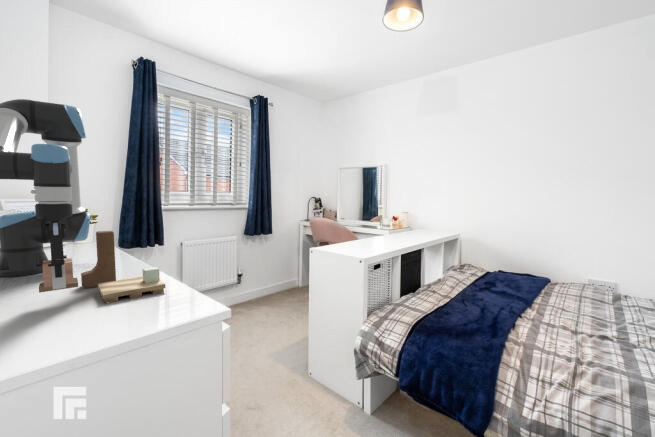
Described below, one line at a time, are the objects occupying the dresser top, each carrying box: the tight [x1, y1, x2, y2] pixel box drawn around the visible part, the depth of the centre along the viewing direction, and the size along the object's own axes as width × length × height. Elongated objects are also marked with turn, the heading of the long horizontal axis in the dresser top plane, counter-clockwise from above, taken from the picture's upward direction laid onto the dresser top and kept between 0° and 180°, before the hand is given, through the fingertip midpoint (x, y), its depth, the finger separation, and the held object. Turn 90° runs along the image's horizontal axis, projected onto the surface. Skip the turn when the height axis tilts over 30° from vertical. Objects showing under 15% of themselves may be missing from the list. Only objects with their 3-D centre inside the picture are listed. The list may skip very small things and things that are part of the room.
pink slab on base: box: [38, 257, 79, 293], centre depth 84 cm, size 6×8×7 cm
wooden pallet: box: [97, 276, 166, 304], centre depth 96 cm, size 14×16×2 cm
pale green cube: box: [142, 266, 161, 283], centre depth 99 cm, size 4×4×4 cm
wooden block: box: [80, 230, 117, 289], centre depth 102 cm, size 9×4×18 cm, turn 133°
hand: (59, 285), depth 85 cm, fingers closed on pink slab on base, 6 cm apart
